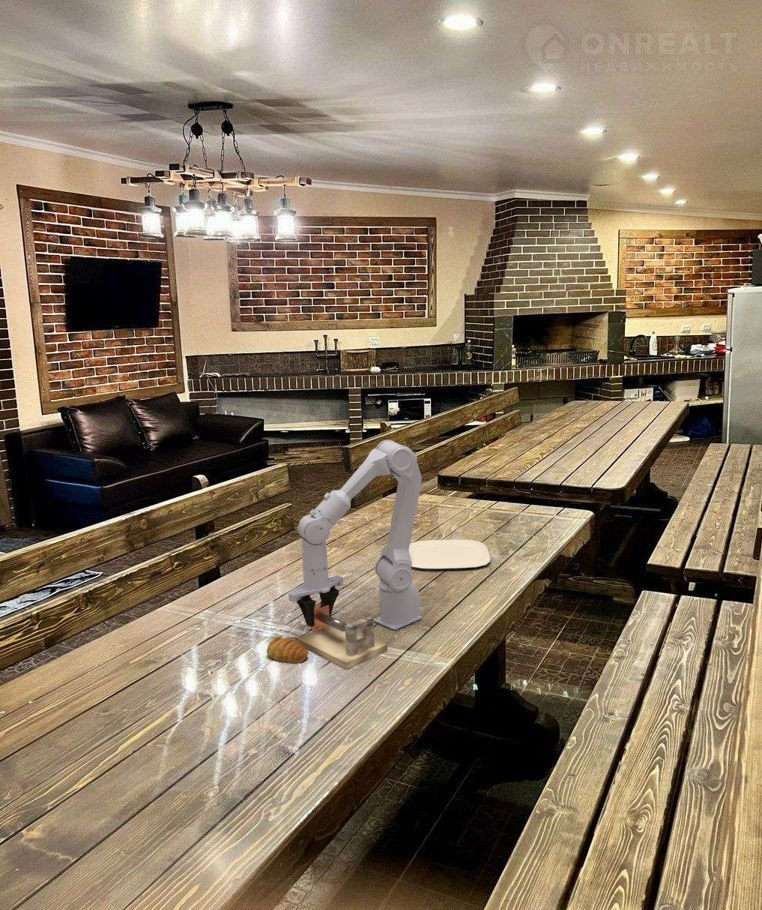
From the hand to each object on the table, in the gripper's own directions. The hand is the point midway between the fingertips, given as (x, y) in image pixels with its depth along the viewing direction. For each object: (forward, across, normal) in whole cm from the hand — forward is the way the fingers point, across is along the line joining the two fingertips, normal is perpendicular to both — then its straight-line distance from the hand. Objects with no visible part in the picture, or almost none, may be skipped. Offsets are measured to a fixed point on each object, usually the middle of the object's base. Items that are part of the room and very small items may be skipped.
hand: (318, 622), depth 178 cm
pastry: (+4, -11, -2) cm, 12 cm away
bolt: (+1, 0, -4) cm, 4 cm away
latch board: (+4, 0, -8) cm, 9 cm away
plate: (+4, +61, +15) cm, 63 cm away
